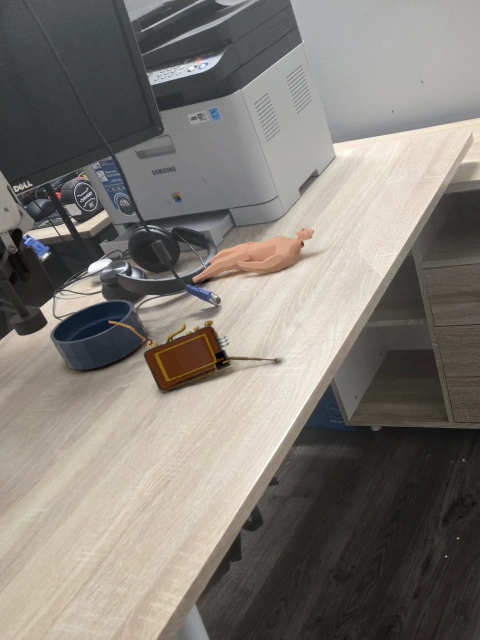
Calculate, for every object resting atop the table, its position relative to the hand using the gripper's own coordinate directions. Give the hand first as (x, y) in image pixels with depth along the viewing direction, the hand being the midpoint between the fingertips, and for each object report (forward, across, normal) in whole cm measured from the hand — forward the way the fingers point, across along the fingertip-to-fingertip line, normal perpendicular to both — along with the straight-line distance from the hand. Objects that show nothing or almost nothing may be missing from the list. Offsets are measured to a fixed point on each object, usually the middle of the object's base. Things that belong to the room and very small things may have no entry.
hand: (20, 279), depth 94 cm
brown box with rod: (+17, +22, -12) cm, 31 cm away
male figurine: (+17, +33, +25) cm, 44 cm away
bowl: (+17, +4, +8) cm, 19 cm away
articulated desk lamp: (+5, 0, 0) cm, 5 cm away
